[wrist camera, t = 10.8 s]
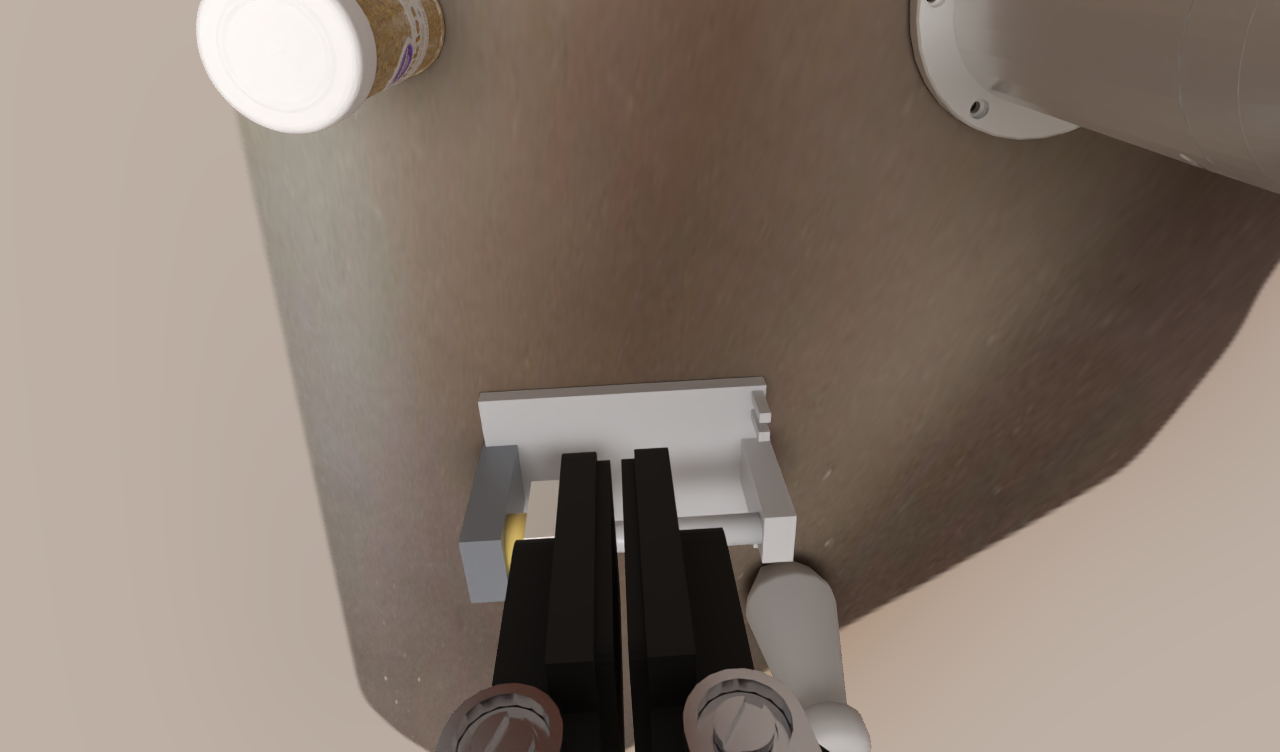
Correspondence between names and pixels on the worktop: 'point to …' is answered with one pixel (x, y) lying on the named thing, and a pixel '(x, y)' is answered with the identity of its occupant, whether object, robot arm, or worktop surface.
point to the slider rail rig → (613, 427)
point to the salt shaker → (806, 650)
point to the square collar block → (542, 510)
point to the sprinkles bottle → (313, 54)
